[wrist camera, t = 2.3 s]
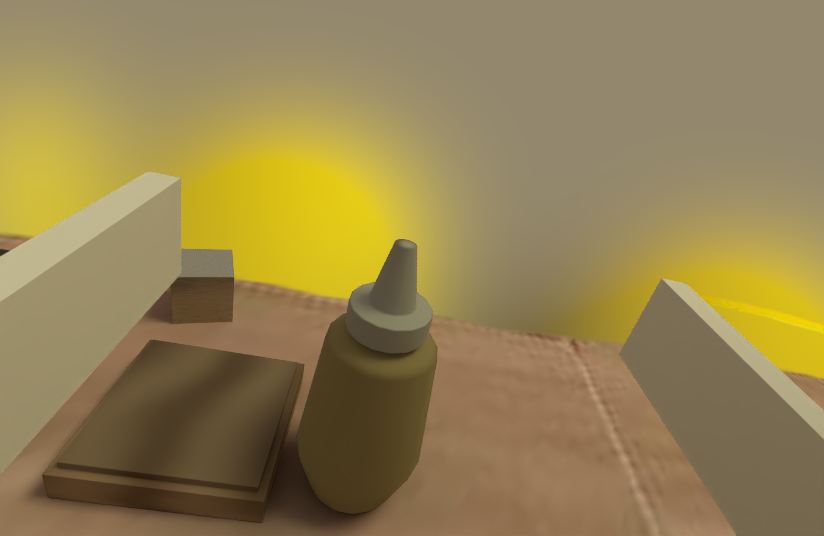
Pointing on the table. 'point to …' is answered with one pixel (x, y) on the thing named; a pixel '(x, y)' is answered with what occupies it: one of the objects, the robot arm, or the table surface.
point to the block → (203, 287)
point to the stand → (183, 434)
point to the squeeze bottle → (371, 391)
